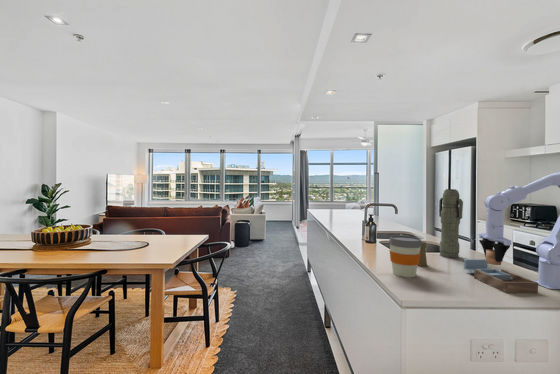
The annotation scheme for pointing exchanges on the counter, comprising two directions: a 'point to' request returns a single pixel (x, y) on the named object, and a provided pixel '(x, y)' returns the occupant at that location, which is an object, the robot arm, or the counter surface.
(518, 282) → the caddy
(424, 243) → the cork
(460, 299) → the counter surface
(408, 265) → the reusable coffee cup
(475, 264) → the tray
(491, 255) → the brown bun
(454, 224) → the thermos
